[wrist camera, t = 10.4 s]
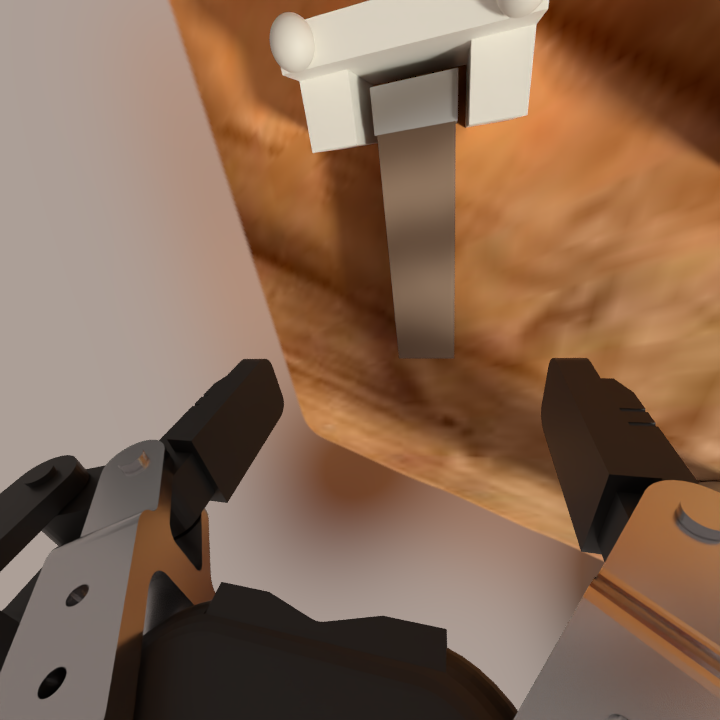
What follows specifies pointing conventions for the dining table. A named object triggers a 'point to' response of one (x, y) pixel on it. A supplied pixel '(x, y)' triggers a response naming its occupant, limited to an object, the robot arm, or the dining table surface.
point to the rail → (420, 206)
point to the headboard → (406, 59)
